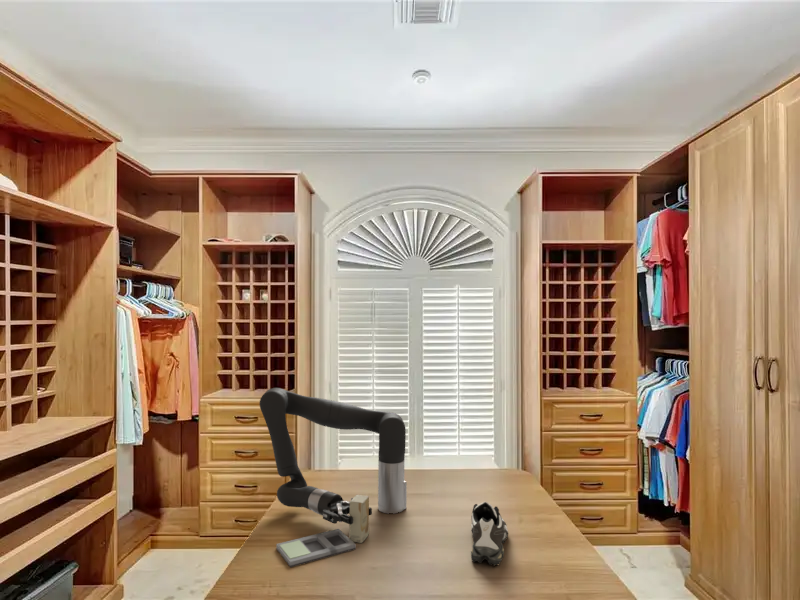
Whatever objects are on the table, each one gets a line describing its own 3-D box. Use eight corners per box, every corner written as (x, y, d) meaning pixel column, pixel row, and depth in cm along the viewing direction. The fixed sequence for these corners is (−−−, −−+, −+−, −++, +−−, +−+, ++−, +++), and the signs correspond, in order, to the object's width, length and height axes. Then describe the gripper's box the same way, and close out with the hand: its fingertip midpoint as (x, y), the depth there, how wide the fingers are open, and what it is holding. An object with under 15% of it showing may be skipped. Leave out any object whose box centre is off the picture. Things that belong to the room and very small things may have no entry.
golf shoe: (505, 524, 166) (505, 481, 167) (514, 571, 137) (514, 519, 137) (469, 522, 168) (470, 479, 168) (471, 568, 138) (471, 517, 138)
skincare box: (362, 543, 152) (362, 503, 152) (348, 541, 153) (349, 501, 153) (369, 534, 158) (369, 495, 158) (356, 532, 159) (356, 493, 159)
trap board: (338, 533, 158) (338, 527, 158) (355, 549, 148) (355, 543, 148) (276, 549, 148) (276, 543, 148) (290, 567, 138) (290, 561, 138)
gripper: (308, 498, 159) (345, 511, 149) (340, 485, 170) (377, 497, 160) (308, 521, 158) (345, 536, 148) (340, 507, 170) (377, 520, 160)
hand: (361, 516), depth 154 cm, fingers open, 8 cm apart
